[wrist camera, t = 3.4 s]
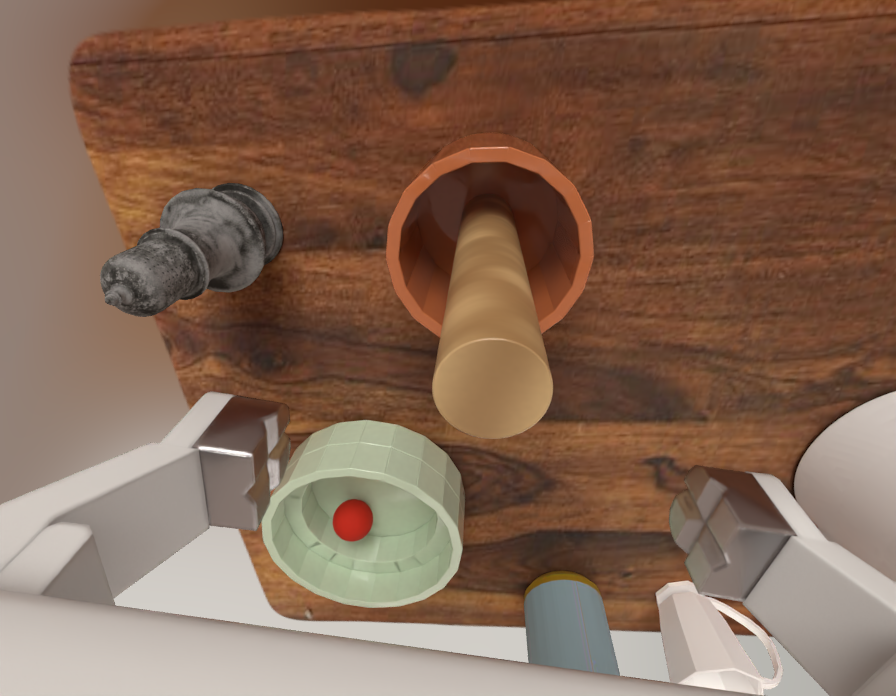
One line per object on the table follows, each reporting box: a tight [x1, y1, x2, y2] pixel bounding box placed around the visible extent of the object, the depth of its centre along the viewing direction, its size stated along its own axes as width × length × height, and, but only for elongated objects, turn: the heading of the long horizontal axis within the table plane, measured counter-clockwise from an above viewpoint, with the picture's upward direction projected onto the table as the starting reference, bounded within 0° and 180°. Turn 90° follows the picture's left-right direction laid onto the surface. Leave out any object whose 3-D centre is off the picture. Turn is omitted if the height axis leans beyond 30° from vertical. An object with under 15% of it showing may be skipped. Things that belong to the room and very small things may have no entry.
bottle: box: [524, 571, 620, 676], centre depth 38 cm, size 7×7×15 cm
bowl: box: [262, 420, 465, 608], centre depth 37 cm, size 14×14×6 cm
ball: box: [333, 499, 373, 542], centre depth 38 cm, size 3×3×3 cm
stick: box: [432, 194, 553, 439], centre depth 20 cm, size 3×3×18 cm
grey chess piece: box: [101, 183, 283, 317], centre depth 24 cm, size 6×6×12 cm
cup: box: [656, 581, 783, 695], centre depth 40 cm, size 7×10×8 cm
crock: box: [386, 133, 594, 337], centre depth 25 cm, size 9×9×8 cm
